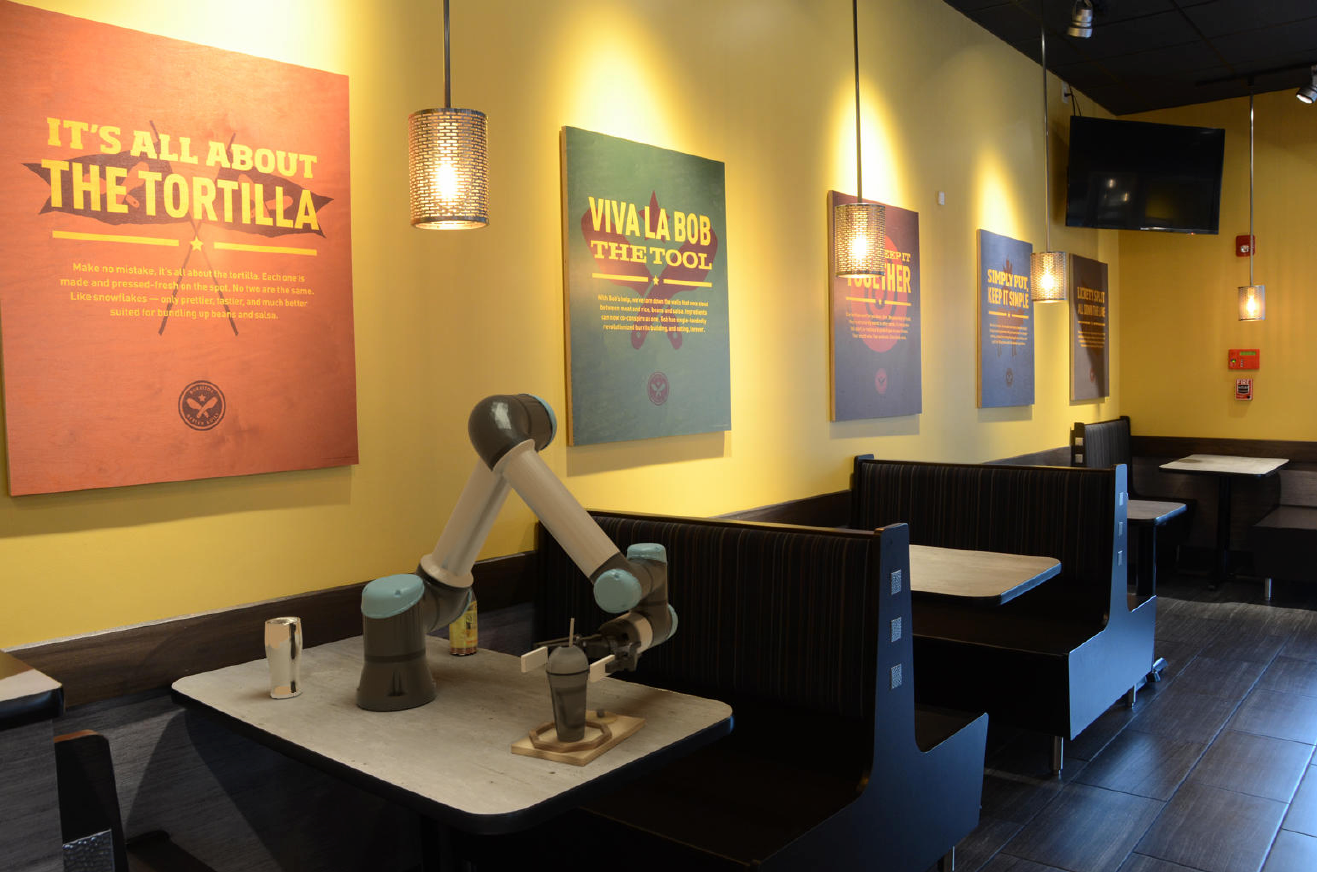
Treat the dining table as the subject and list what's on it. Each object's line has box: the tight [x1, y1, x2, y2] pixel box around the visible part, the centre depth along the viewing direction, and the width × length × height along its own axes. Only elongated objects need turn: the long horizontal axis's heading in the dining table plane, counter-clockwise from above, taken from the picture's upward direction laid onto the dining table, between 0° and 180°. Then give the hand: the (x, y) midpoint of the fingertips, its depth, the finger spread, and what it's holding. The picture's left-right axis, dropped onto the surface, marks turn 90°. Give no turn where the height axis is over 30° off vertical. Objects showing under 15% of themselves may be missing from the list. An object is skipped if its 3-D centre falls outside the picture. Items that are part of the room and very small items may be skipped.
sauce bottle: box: [448, 586, 479, 655], centre depth 221 cm, size 6×6×20 cm
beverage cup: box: [545, 617, 590, 742], centre depth 161 cm, size 7×7×20 cm
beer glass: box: [264, 616, 303, 695], centre depth 193 cm, size 7×7×15 cm
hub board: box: [510, 708, 646, 767], centre depth 164 cm, size 14×20×3 cm
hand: (556, 668), depth 158 cm, fingers open, 13 cm apart
